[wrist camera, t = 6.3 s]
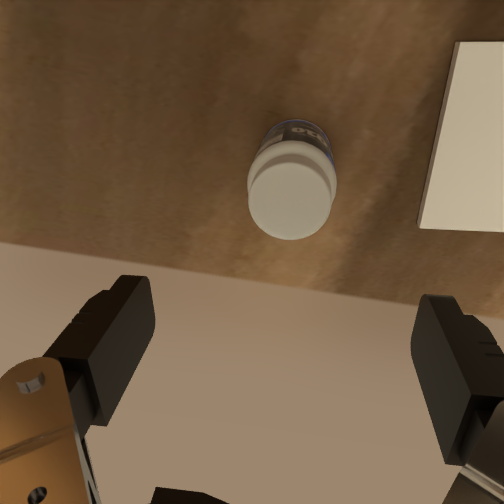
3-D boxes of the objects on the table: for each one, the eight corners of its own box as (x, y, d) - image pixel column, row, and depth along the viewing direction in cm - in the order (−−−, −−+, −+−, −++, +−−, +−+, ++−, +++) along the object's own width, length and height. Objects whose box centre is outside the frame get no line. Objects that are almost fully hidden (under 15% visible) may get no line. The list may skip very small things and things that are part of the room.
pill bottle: (347, 154, 26) (362, 205, 18) (294, 202, 28) (289, 265, 20) (295, 100, 24) (289, 132, 17) (244, 155, 26) (220, 203, 19)
